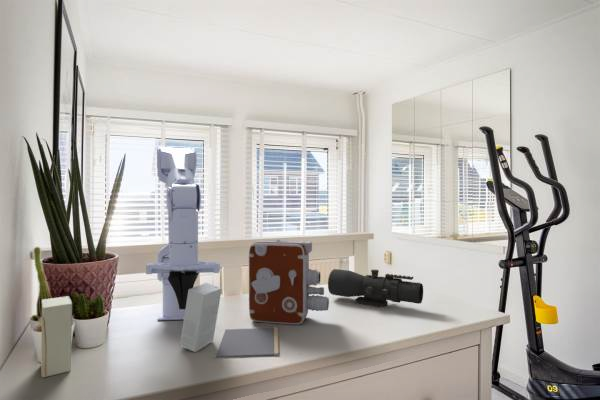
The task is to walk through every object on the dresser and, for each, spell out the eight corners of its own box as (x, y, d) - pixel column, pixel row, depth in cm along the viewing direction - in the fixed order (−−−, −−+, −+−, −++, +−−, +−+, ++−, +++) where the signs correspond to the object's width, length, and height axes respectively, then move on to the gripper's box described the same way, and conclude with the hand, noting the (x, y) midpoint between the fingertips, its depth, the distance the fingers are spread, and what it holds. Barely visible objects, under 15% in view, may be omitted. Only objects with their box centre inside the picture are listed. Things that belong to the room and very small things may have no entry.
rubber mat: (225, 330, 82) (225, 328, 82) (277, 329, 83) (277, 327, 83) (215, 357, 68) (215, 355, 68) (278, 355, 69) (278, 352, 69)
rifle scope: (416, 318, 91) (416, 278, 91) (325, 302, 105) (325, 268, 104) (425, 307, 100) (425, 271, 100) (340, 294, 113) (340, 262, 113)
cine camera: (325, 329, 83) (325, 243, 83) (246, 323, 87) (245, 241, 87) (329, 316, 92) (329, 239, 92) (258, 312, 96) (257, 237, 96)
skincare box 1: (40, 365, 65) (40, 299, 65) (69, 358, 68) (69, 295, 68) (41, 379, 60) (41, 307, 60) (72, 371, 63) (72, 302, 63)
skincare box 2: (197, 335, 77) (206, 282, 76) (213, 341, 76) (222, 287, 75) (178, 345, 72) (187, 288, 71) (195, 353, 70) (205, 295, 69)
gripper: (140, 245, 69) (140, 315, 69) (216, 244, 70) (216, 313, 70) (152, 240, 76) (152, 304, 76) (221, 240, 77) (221, 302, 77)
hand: (183, 307), depth 74 cm, fingers closed
